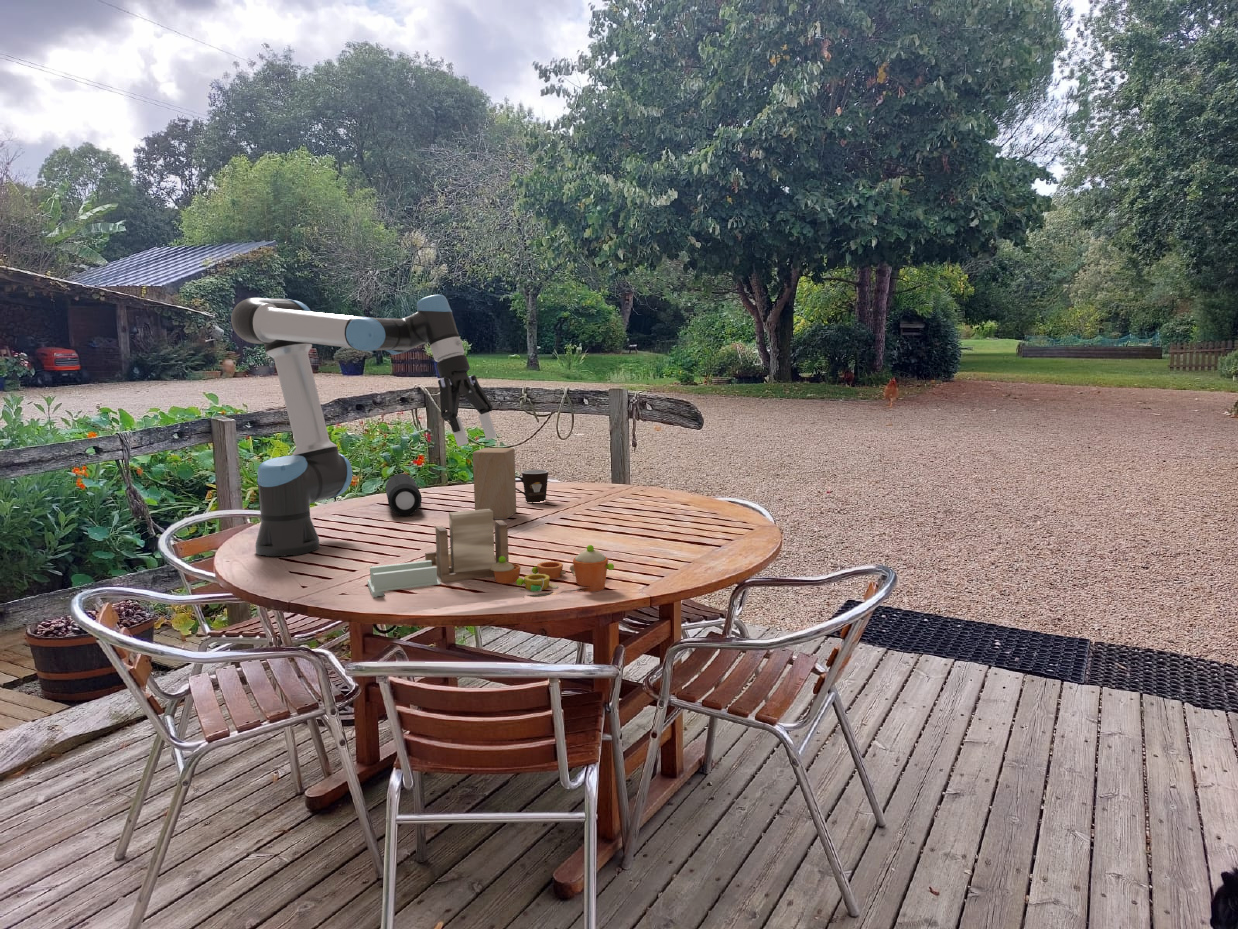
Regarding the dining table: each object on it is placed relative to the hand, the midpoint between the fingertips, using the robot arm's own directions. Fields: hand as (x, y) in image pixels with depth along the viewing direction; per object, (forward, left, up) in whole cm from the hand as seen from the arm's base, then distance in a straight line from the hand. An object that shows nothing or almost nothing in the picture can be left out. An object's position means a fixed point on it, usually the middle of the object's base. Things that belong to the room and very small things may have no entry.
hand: (478, 441), depth 203 cm
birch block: (+22, -7, -27) cm, 35 cm away
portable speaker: (-65, -9, -28) cm, 71 cm away
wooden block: (-43, +15, -28) cm, 53 cm away
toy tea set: (+34, +7, -28) cm, 45 cm away
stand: (+21, -22, -28) cm, 42 cm away
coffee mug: (-59, +31, -28) cm, 72 cm away
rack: (+16, -7, -28) cm, 33 cm away
